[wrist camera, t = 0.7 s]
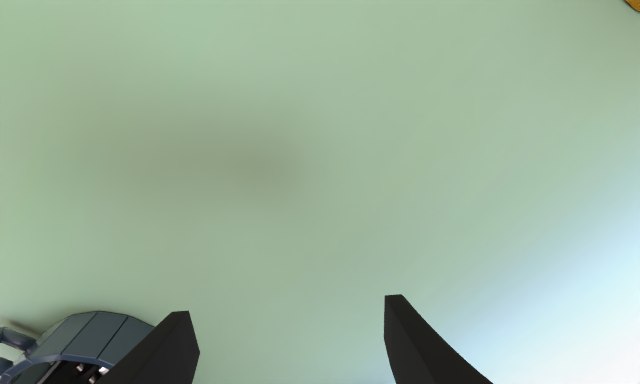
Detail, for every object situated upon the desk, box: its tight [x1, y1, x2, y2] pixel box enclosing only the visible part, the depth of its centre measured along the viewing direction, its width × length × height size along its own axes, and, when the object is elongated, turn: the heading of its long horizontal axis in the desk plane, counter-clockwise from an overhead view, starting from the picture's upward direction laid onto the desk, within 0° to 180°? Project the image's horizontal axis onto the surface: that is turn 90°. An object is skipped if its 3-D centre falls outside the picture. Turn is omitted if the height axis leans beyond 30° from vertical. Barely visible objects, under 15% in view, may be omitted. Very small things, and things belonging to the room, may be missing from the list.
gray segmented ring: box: [0, 311, 154, 384], centre depth 23 cm, size 14×11×4 cm
